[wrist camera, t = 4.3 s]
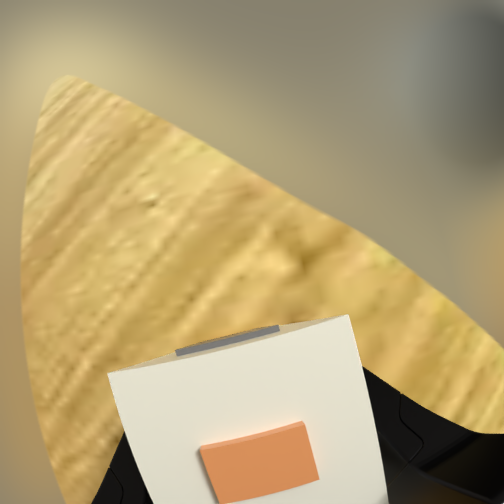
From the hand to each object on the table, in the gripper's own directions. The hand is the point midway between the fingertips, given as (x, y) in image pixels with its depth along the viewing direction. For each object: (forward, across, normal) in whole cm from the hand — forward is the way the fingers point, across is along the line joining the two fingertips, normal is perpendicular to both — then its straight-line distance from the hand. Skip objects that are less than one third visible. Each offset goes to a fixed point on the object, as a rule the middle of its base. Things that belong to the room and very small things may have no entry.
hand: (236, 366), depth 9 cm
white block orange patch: (+4, 0, +6) cm, 7 cm away
